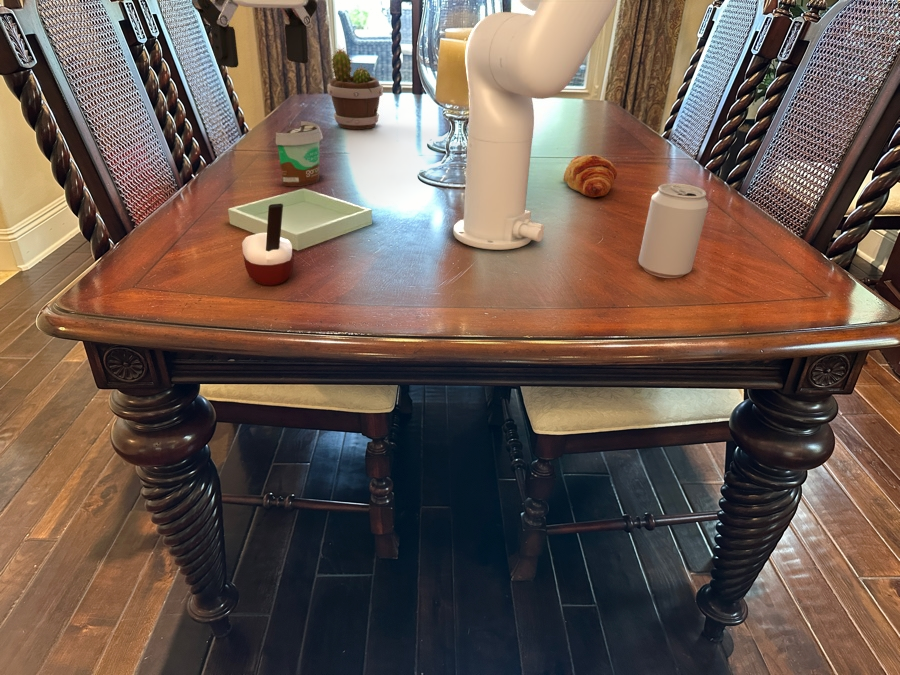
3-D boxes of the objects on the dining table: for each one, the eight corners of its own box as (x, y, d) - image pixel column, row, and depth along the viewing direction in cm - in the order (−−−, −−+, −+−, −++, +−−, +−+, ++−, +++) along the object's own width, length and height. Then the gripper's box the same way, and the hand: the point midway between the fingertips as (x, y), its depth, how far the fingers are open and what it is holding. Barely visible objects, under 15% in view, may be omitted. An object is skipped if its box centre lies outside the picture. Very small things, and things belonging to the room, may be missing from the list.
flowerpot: (385, 121, 172) (383, 42, 162) (382, 132, 159) (380, 48, 149) (333, 119, 172) (328, 40, 161) (325, 131, 158) (320, 46, 148)
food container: (310, 190, 114) (306, 136, 109) (280, 187, 115) (274, 133, 110) (334, 173, 125) (331, 122, 120) (306, 170, 126) (302, 120, 121)
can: (660, 283, 84) (680, 199, 78) (626, 263, 90) (642, 182, 84) (702, 276, 87) (724, 193, 81) (666, 256, 93) (684, 178, 87)
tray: (372, 224, 100) (371, 209, 99) (297, 250, 89) (296, 234, 88) (305, 201, 109) (303, 188, 108) (229, 223, 98) (227, 208, 97)
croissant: (564, 187, 134) (551, 154, 130) (608, 167, 131) (596, 133, 128) (581, 218, 115) (566, 180, 112) (632, 195, 113) (619, 156, 109)
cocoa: (250, 268, 84) (238, 181, 78) (297, 266, 85) (288, 181, 79) (242, 299, 76) (228, 205, 70) (294, 297, 77) (285, 204, 71)
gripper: (190, -136, 54) (216, 72, 63) (336, -108, 66) (342, 64, 75) (146, -132, 58) (177, 64, 67) (292, -106, 70) (302, 57, 79)
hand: (264, 63), depth 71 cm, fingers open, 9 cm apart
